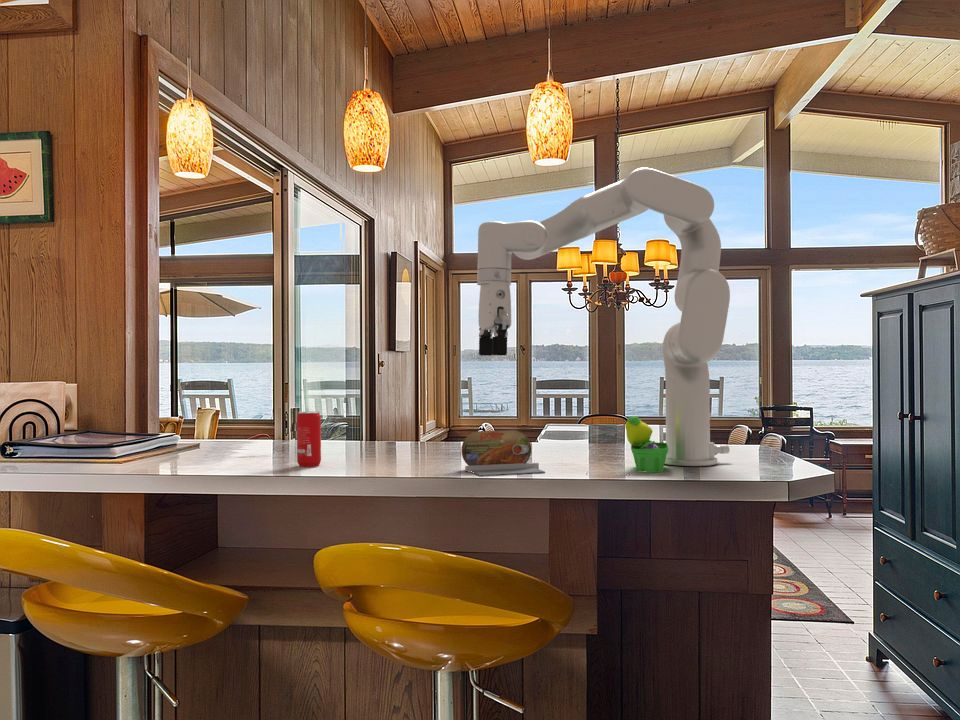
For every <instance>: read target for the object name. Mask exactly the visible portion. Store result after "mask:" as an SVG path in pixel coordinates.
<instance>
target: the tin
mask: <svg viewBox="0 0 960 720" xmlns="http://www.w3.org/2000/svg"><path fill="white" fill-rule="evenodd" d="M531 455H532V443H531V441H530V439H529V437H528V436H527V435H526V434H525V433H524V432H522V431H521V430H520V431H519V430H516V429H499V430H478V431H474V432H472V433H469V435H468V436H466V437H465V439H463V441H462V444H461V456H462V459H463V461H464V463H465V464H466V466H476V465H497V464H518V463H528V461H529V459H530V458H531Z"/></svg>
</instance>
